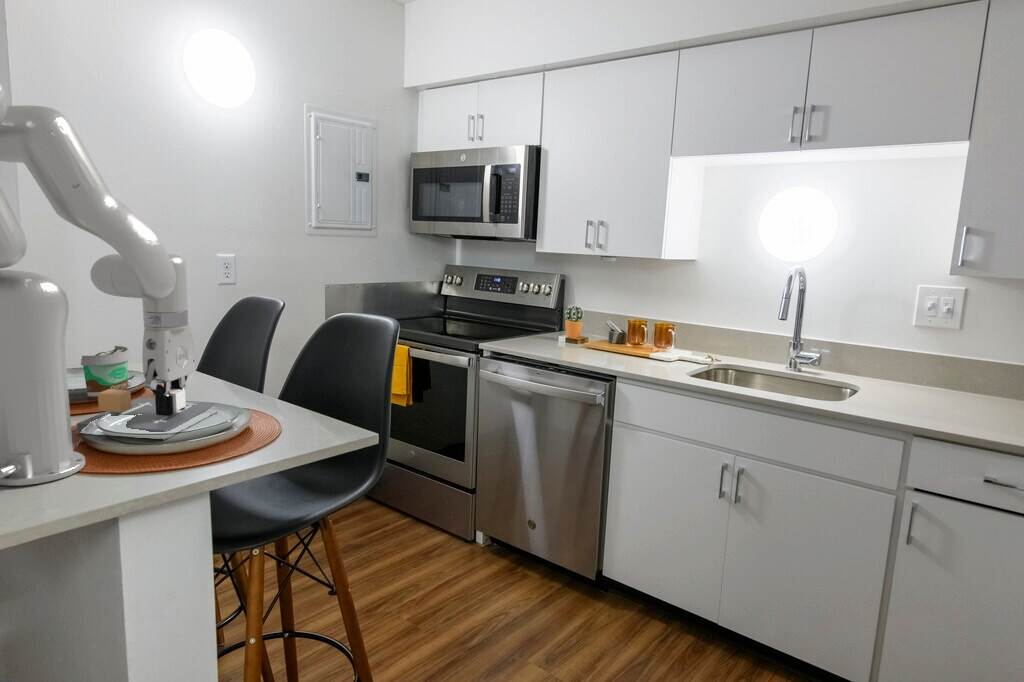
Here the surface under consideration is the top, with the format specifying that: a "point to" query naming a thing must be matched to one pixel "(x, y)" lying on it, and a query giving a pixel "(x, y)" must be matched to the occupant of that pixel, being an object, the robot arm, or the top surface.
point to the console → (153, 416)
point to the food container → (106, 371)
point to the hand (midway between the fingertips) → (170, 411)
